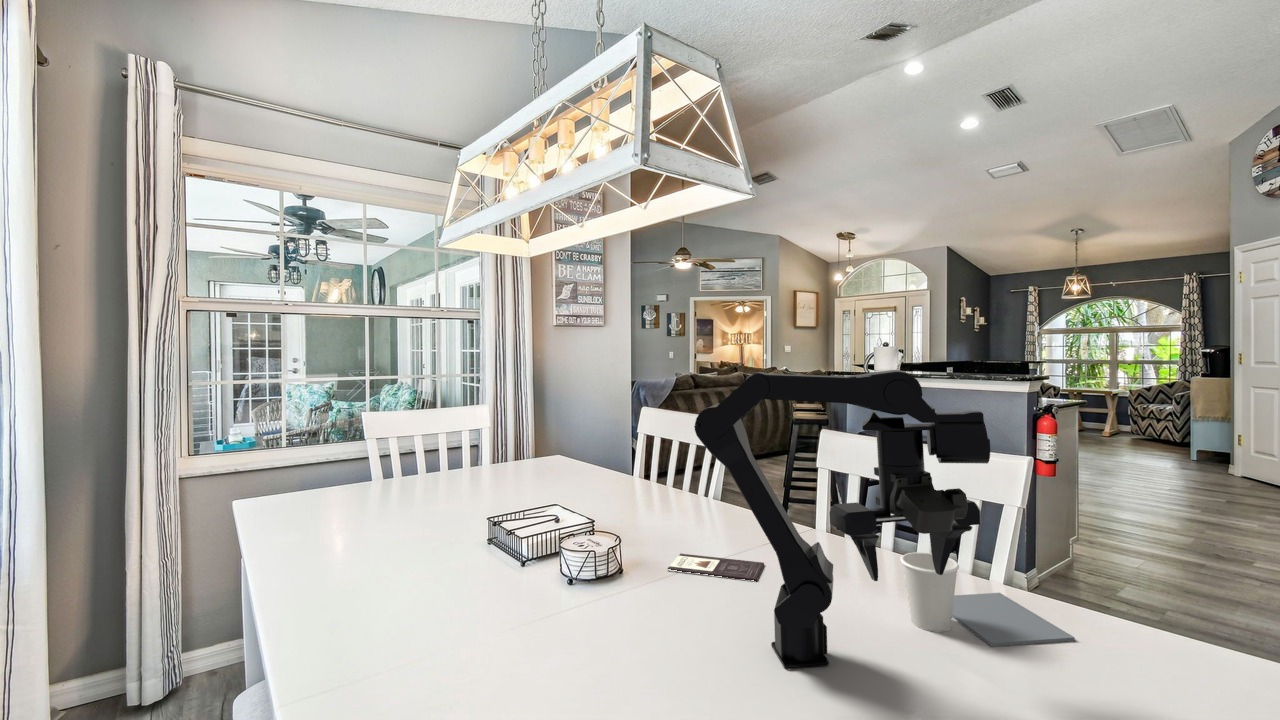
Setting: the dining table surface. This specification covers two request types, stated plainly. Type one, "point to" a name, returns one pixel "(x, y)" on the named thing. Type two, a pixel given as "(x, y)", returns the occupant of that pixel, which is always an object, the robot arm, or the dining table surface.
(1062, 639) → the mat
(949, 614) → the dixie cup
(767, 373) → the robot arm
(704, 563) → the chocolate bar
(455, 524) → the dining table surface
